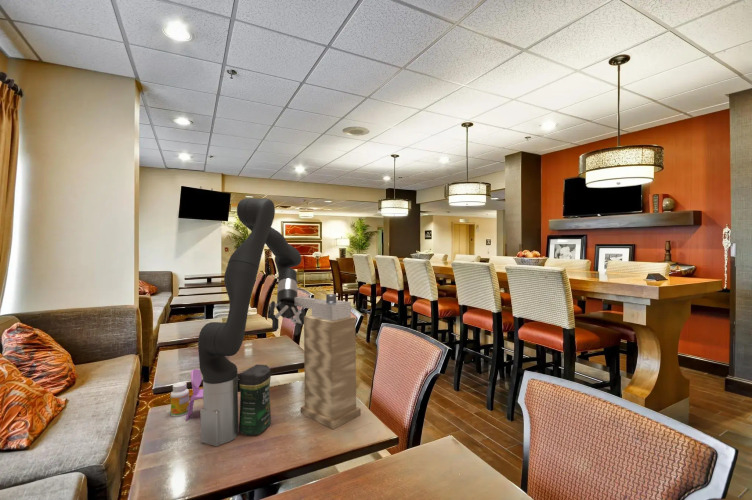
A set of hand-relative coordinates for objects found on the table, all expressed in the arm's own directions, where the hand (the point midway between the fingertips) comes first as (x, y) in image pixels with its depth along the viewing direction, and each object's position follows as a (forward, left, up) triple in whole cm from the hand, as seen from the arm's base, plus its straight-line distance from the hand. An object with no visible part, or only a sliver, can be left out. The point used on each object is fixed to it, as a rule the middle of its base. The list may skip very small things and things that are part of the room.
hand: (286, 332), depth 124 cm
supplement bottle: (-20, +28, -25) cm, 43 cm away
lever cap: (-1, -14, +7) cm, 15 cm away
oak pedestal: (-3, -19, -25) cm, 31 cm away
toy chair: (-18, +20, -25) cm, 37 cm away
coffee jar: (-19, -2, -25) cm, 31 cm away
